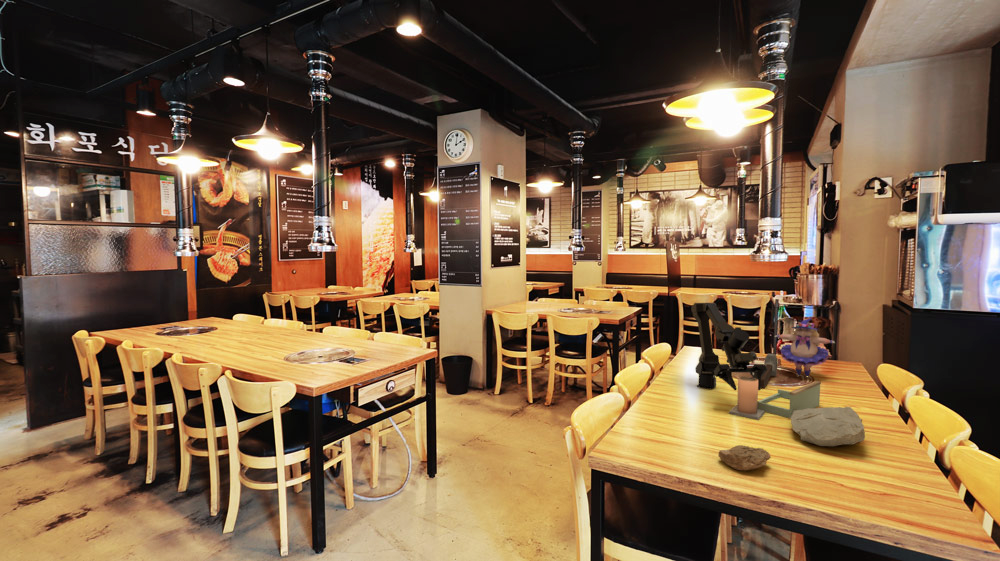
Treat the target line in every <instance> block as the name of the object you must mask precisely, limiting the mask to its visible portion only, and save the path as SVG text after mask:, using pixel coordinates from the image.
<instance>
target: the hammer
mask: <svg viewBox="0 0 1000 561" xmlns="http://www.w3.org/2000/svg"><path fill="white" fill-rule="evenodd" d="M763 364H764V365H766V367H767V369H768V370H767V371H766V372H765V373H764V374H763V375H762V376H761V389H762V388H763V389H766V387H767V385H768V382H769V380H770V378H771V377H772V376H774V378H775V377H776V376H777V373H778V357H777V355H776V354H775V353H767V354H766V356H765V358H764V362H763ZM763 389H762V390H763Z"/></svg>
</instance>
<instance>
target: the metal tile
mask: <svg viewBox="0 0 1000 561" xmlns="http://www.w3.org/2000/svg"><path fill="white" fill-rule="evenodd" d="M728 412H729V413H728V414H729V415H733V416H737V417H743V418H746V419H752V420H756V421H759V420H760V419H762V417H763V416H764V414H765V413H766V412H765V410H760V409H757V413H756V414H747V413H742V412H740V411H738V410H737V404H736V405H734V407H732V408H731V409H730V410H729V411H728Z"/></svg>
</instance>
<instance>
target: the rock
mask: <svg viewBox="0 0 1000 561" xmlns="http://www.w3.org/2000/svg"><path fill="white" fill-rule="evenodd" d="M718 457H719V459H720V460H721V461H722V462H723V463H725V464H726V465H727V466H729V467H731V468H732V469H735V470H737V471H750V470H755V469H759V468H762V467H764V466H767V461H769V460H770V459H771V458H772V457H771V454H770V453H769V451H767V450H766V449H764V448H760V447H753V446H749V445H748V446H746V445H741V444H739V445H735V446H732V447H731V448H729V449H721V450H719V451H718Z"/></svg>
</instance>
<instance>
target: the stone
mask: <svg viewBox="0 0 1000 561" xmlns="http://www.w3.org/2000/svg"><path fill="white" fill-rule="evenodd" d="M789 419H790V424H791V426H792V428H791V429H792V431H793V432H795V433H796V434H798V435H799V436H800V440H801V441H803V442H806V443H810V444H812V445H816V446H819V447H837V446H840V445H855V444H857V443H860V442H861V443H862V442H863V441H864V440H865V438H866V435H865V434H866V433H865V432H866V431H865V426H864V423H863V419H862V418H861V417H860V415H859V414H858V413H857V412H856V411H855V410H854V409H853V408H852V407H851V406H845V407H841V406H836V407H834V406H833V407H831V406H830V407H816V408H807V409H803V410H794V411H793V413H792V416H791V418H789Z"/></svg>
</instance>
